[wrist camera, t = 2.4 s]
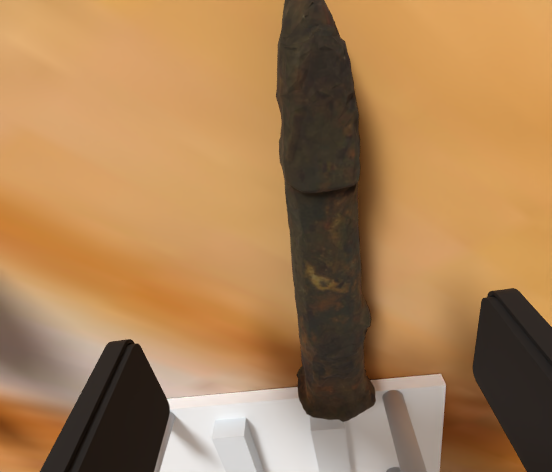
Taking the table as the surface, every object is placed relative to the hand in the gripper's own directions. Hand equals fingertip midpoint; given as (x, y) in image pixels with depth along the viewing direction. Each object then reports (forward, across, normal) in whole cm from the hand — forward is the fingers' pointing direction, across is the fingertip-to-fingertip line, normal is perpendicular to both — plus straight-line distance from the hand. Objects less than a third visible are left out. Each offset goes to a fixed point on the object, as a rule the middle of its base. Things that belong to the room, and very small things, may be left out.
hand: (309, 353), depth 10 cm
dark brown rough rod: (+8, -1, 0) cm, 8 cm away
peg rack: (+8, +3, +16) cm, 18 cm away
